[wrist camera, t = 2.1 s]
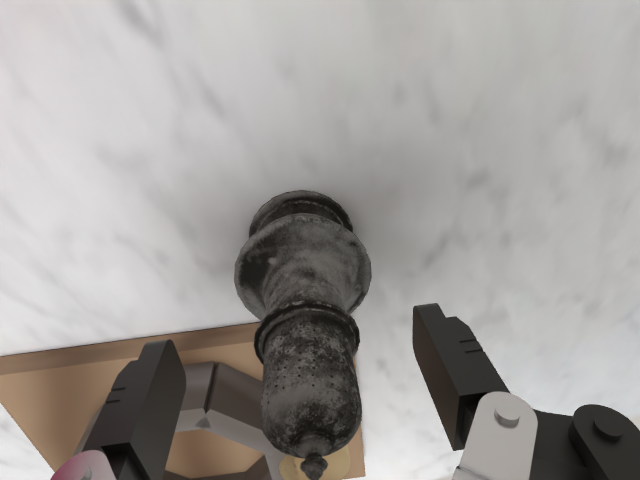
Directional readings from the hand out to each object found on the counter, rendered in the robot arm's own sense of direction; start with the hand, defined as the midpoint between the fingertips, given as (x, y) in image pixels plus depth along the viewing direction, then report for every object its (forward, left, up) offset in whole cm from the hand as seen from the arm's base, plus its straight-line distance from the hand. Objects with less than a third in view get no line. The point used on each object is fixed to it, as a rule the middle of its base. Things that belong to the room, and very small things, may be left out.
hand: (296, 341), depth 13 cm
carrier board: (+8, +12, -8) cm, 16 cm away
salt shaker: (0, 0, -8) cm, 8 cm away
